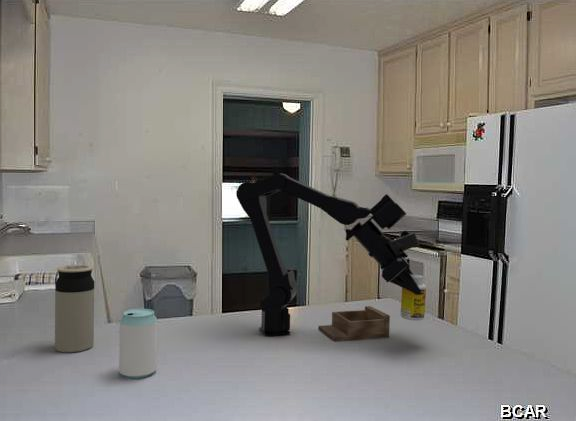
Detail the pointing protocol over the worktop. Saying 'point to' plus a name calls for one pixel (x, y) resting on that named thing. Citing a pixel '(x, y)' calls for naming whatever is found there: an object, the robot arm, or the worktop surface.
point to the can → (138, 343)
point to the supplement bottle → (414, 301)
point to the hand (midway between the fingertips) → (419, 291)
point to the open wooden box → (357, 325)
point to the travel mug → (74, 308)
